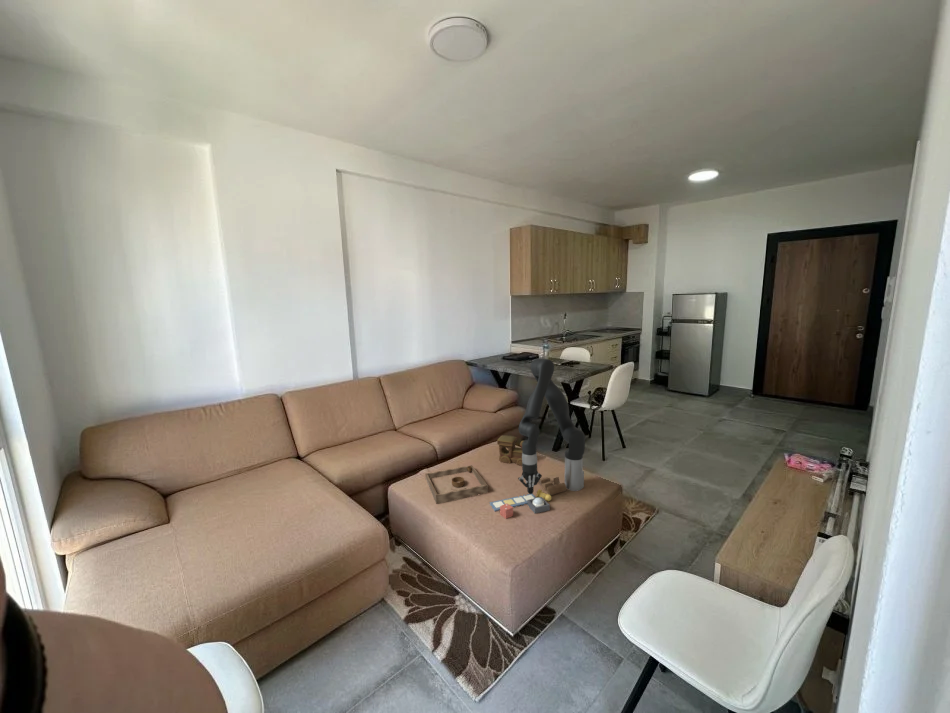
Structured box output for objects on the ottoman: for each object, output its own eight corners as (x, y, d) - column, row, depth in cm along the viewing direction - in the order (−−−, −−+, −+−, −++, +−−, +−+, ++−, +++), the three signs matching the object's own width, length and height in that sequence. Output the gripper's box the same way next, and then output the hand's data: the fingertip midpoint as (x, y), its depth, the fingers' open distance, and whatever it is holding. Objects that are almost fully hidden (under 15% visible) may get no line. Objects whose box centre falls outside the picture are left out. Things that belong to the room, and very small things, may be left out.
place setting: (440, 484, 212) (440, 475, 211) (469, 474, 224) (469, 465, 223) (457, 497, 198) (457, 487, 197) (487, 485, 210) (487, 475, 209)
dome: (540, 503, 189) (540, 494, 188) (546, 509, 184) (546, 499, 183) (530, 505, 187) (530, 496, 186) (536, 511, 182) (535, 502, 181)
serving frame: (472, 473, 224) (471, 465, 223) (488, 494, 200) (487, 485, 199) (425, 481, 215) (425, 473, 214) (436, 504, 191) (436, 495, 190)
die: (507, 511, 183) (507, 503, 182) (513, 515, 179) (513, 507, 179) (500, 514, 181) (499, 506, 180) (505, 519, 177) (505, 510, 176)
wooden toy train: (496, 466, 233) (496, 440, 230) (503, 458, 243) (502, 434, 241) (528, 471, 225) (528, 444, 222) (533, 463, 235) (533, 437, 233)
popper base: (541, 502, 191) (541, 496, 190) (549, 510, 183) (549, 504, 183) (527, 505, 188) (527, 500, 188) (534, 513, 181) (534, 508, 180)
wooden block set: (534, 477, 208) (549, 473, 212) (537, 493, 206) (552, 488, 211) (553, 479, 192) (569, 474, 196) (557, 497, 190) (573, 492, 195)
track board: (532, 494, 198) (532, 492, 198) (539, 501, 191) (539, 499, 191) (489, 503, 190) (489, 502, 190) (495, 511, 183) (494, 509, 183)
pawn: (537, 499, 195) (550, 504, 191) (535, 495, 192) (548, 501, 188) (541, 491, 197) (553, 496, 193) (539, 487, 194) (551, 493, 190)
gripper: (537, 455, 195) (538, 487, 198) (514, 460, 191) (515, 492, 194) (545, 461, 188) (545, 493, 191) (521, 466, 184) (522, 499, 187)
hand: (530, 493), depth 192 cm, fingers closed
